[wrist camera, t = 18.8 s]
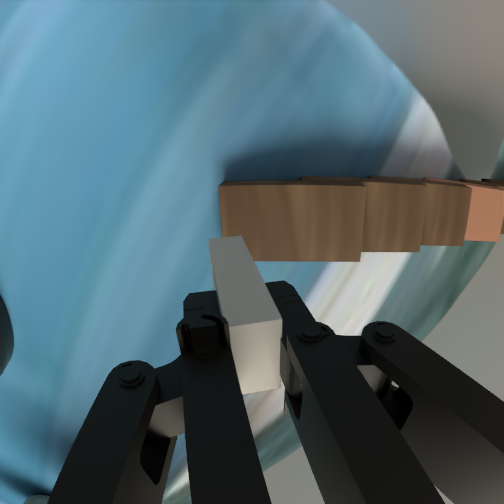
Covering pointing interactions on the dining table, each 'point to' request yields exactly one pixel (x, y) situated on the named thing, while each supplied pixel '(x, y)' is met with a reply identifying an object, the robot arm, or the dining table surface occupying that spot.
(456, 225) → the domino
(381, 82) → the dining table surface
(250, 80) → the dining table surface
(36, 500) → the planter
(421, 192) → the domino
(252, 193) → the domino
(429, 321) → the dining table surface
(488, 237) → the domino
